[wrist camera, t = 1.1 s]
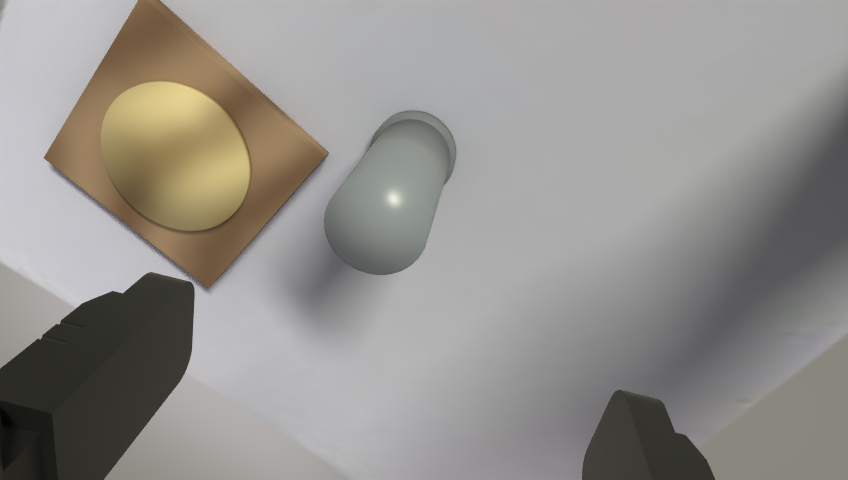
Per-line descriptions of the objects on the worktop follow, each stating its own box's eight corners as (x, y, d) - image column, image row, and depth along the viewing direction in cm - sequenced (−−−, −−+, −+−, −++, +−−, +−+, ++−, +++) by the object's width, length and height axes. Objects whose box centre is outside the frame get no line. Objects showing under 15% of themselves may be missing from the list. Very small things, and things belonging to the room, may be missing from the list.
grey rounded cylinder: (473, 152, 36) (459, 229, 25) (416, 207, 38) (381, 300, 28) (411, 92, 35) (369, 146, 24) (356, 152, 37) (294, 226, 26)
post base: (328, 152, 37) (321, 160, 36) (215, 280, 43) (204, 292, 41) (153, -6, 35) (135, -5, 33) (56, 153, 40) (37, 160, 38)
